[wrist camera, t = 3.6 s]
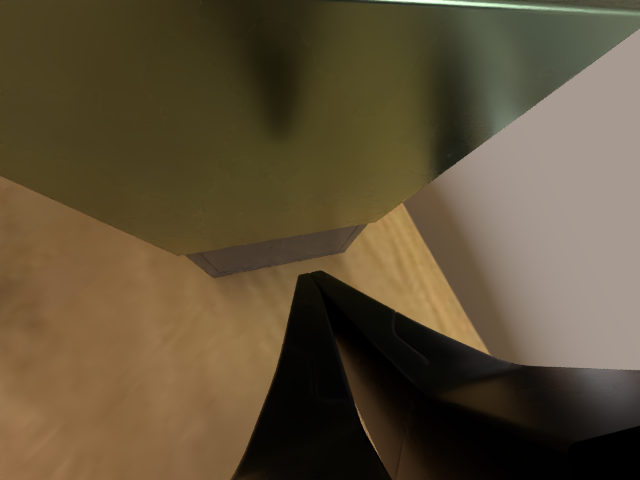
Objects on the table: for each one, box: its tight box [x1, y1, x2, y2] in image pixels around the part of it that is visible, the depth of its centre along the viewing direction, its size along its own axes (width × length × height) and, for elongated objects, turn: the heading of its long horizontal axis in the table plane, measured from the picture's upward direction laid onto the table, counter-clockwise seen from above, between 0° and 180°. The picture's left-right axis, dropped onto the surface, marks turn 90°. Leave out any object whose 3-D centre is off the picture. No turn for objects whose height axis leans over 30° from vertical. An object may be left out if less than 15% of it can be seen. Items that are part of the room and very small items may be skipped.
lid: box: [0, 0, 640, 256], centre depth 9 cm, size 12×12×1 cm
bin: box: [185, 223, 368, 278], centre depth 20 cm, size 11×12×7 cm
